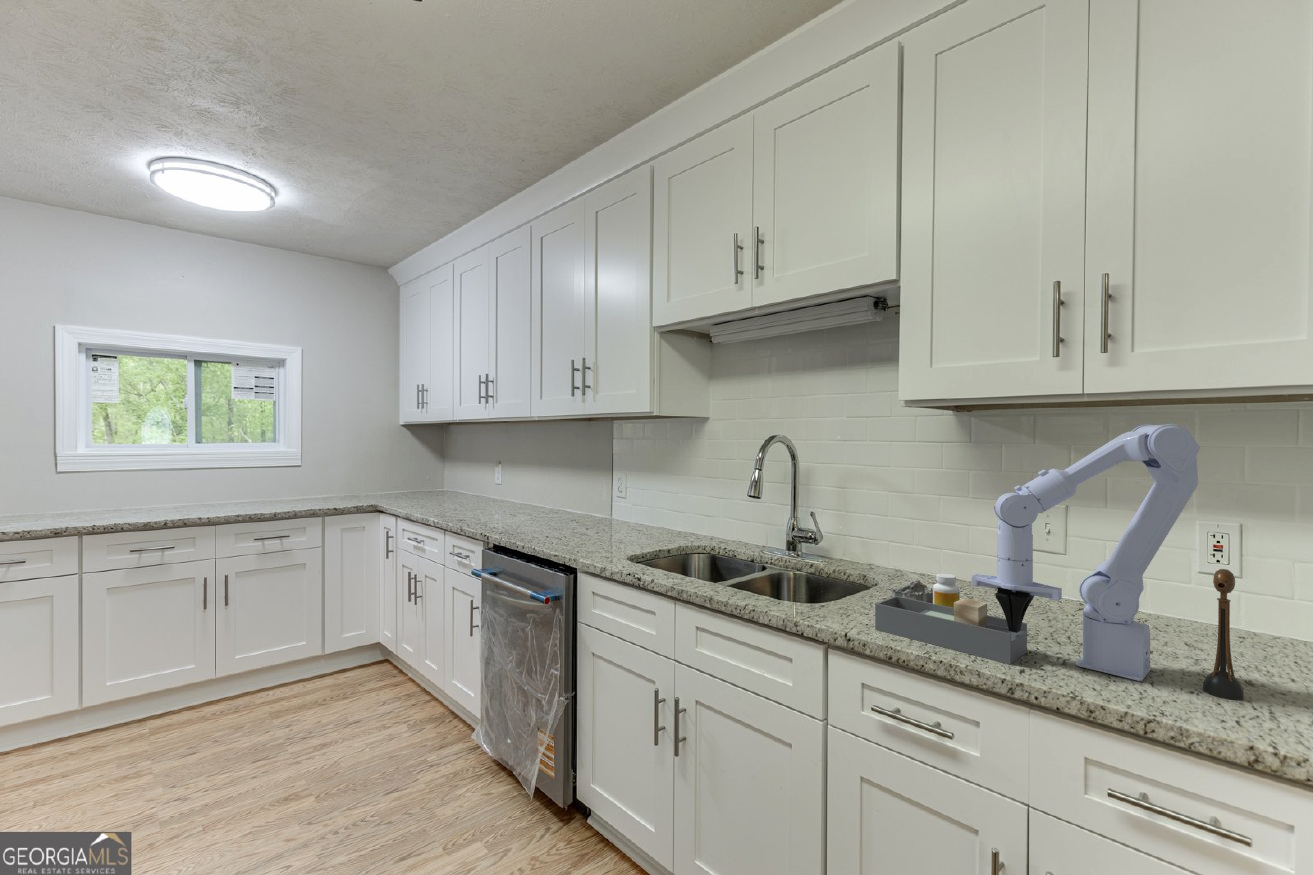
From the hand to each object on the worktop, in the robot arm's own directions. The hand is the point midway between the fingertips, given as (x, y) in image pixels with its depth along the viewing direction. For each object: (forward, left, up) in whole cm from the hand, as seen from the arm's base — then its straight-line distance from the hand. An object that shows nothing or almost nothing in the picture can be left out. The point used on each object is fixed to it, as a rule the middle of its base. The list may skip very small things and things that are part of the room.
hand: (1014, 630), depth 112 cm
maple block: (+8, 0, -1) cm, 8 cm away
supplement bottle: (+18, -14, -5) cm, 24 cm away
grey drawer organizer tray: (+12, 0, -5) cm, 13 cm away
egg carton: (+30, -23, -5) cm, 38 cm away
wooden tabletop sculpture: (-28, -7, -5) cm, 29 cm away
